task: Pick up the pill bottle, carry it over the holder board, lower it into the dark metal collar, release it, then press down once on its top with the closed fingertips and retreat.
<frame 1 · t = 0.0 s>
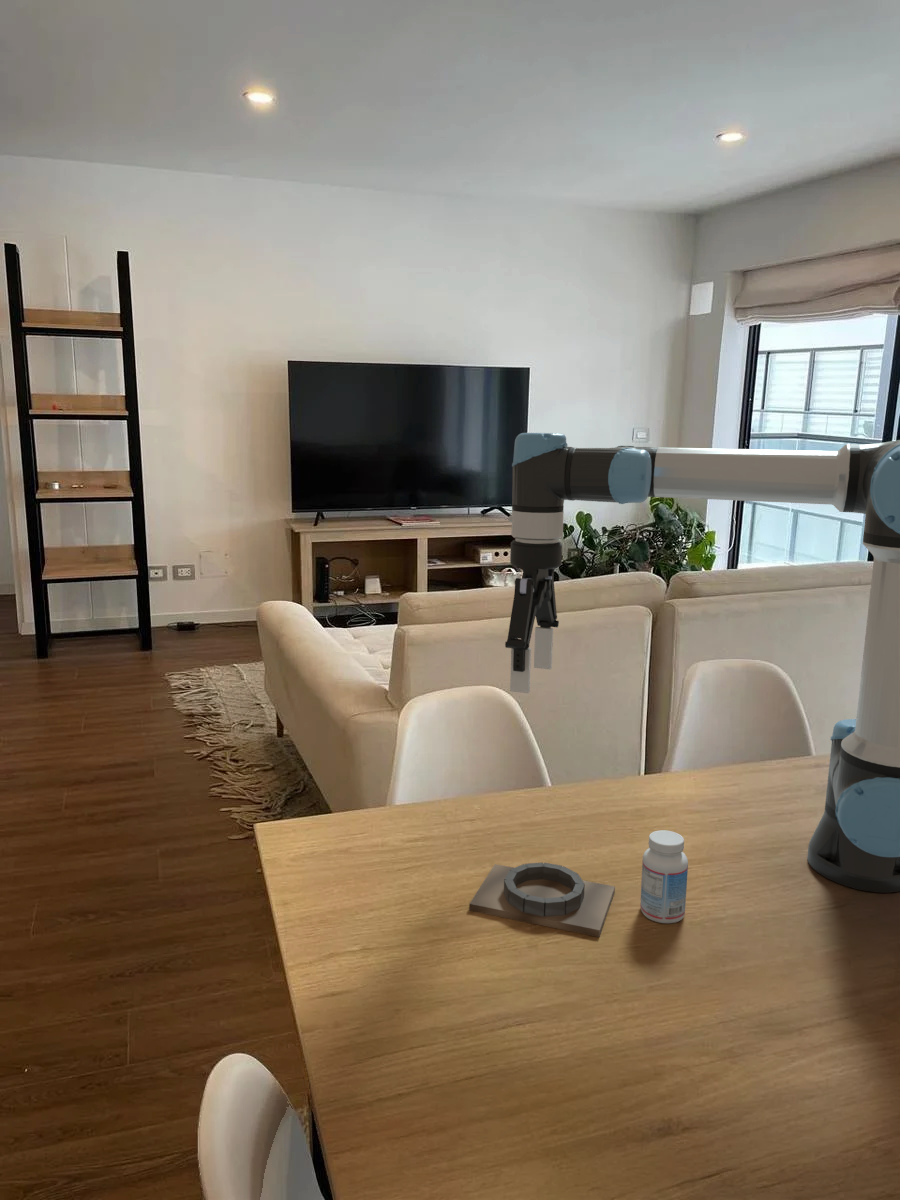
hand: (531, 679, 133), 28 cm above the table, fingers open, 13 cm apart
pill bottle: (661, 914, 122), on the table
holder: (543, 901, 124), on the table
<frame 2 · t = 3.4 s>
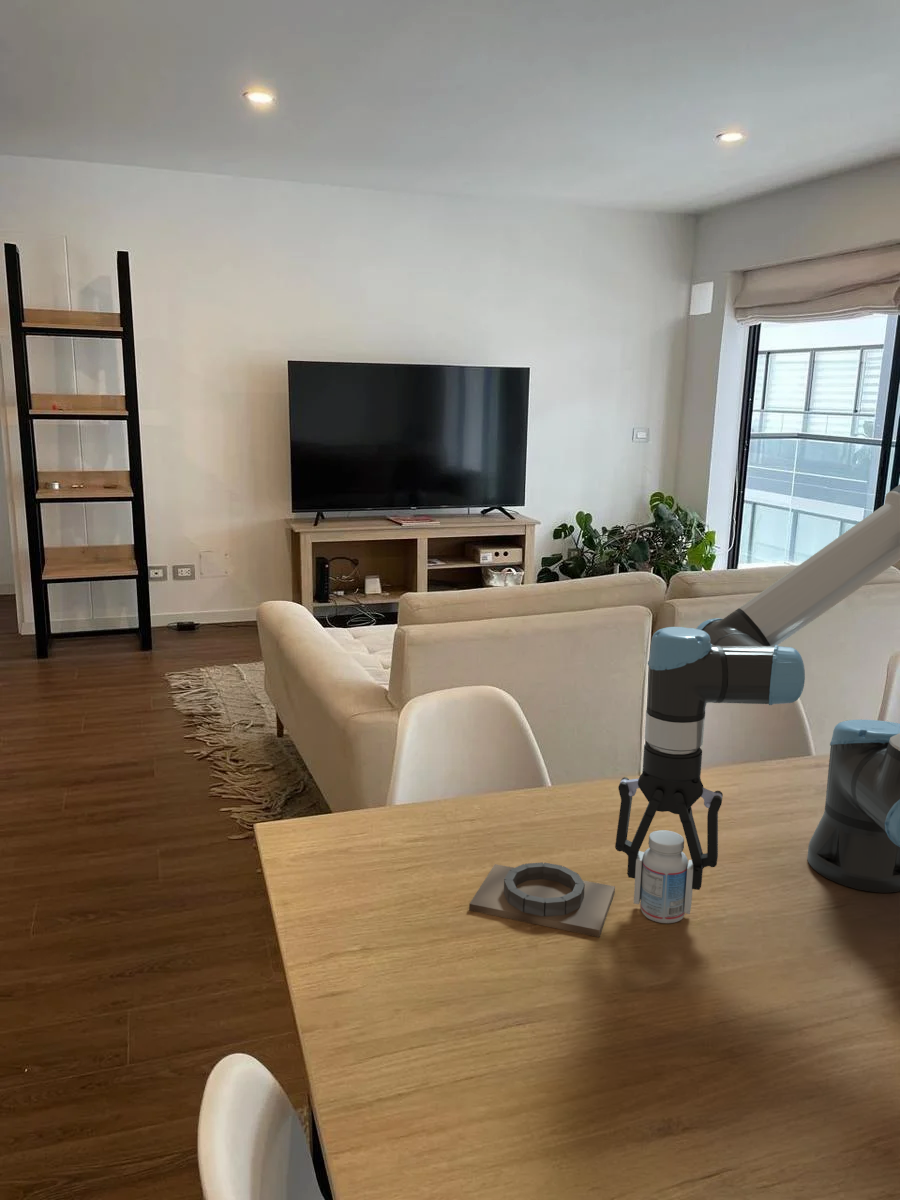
hand: (662, 903, 121), 1 cm above the table, fingers closed on pill bottle, 6 cm apart
pill bottle: (661, 914, 122), on the table, touching gripper
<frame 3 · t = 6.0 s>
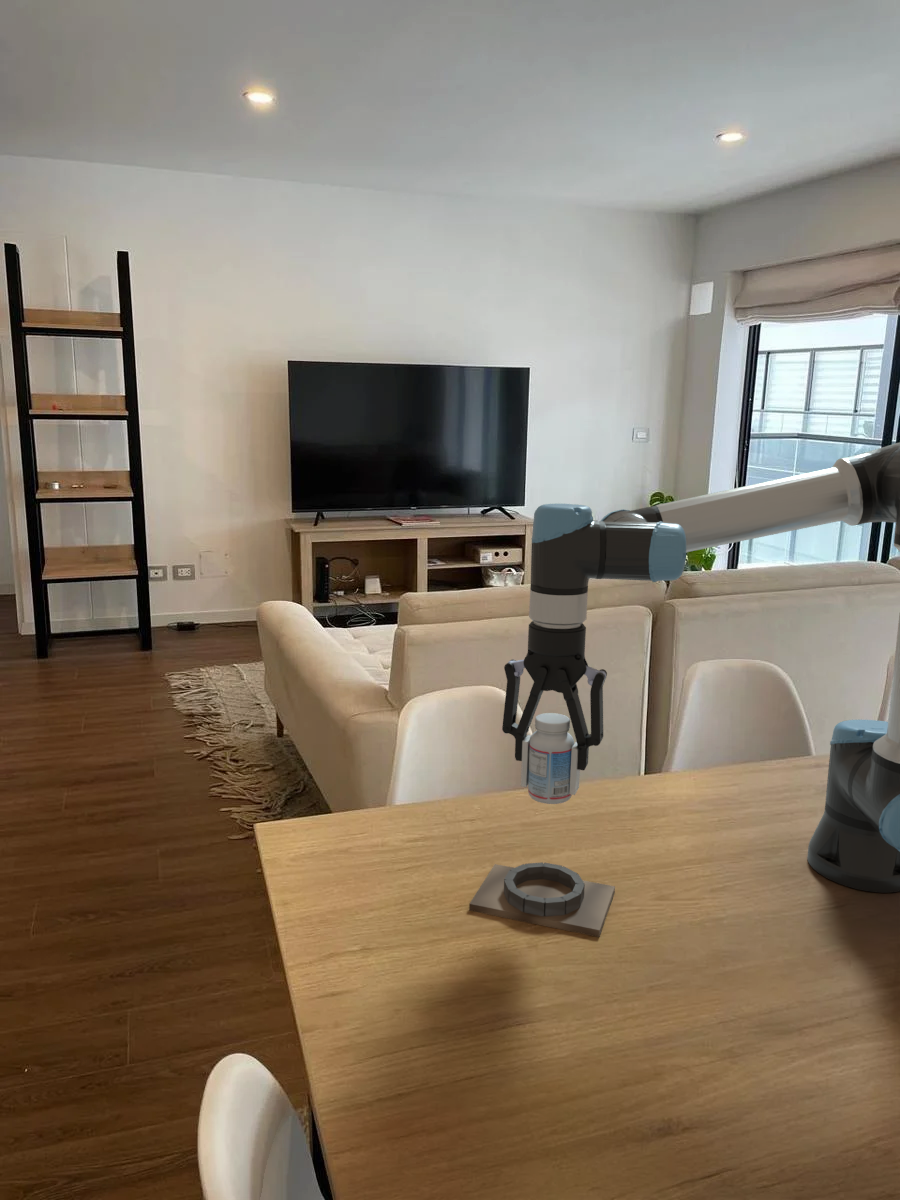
hand: (549, 786, 121), 17 cm above the table, fingers closed on pill bottle, 6 cm apart
pill bottle: (549, 797, 121), point 16 cm above the table, touching gripper
when the fingers open (4 cm above the table, at t = 8.3 s): pill bottle drops 2 cm, resting on holder.
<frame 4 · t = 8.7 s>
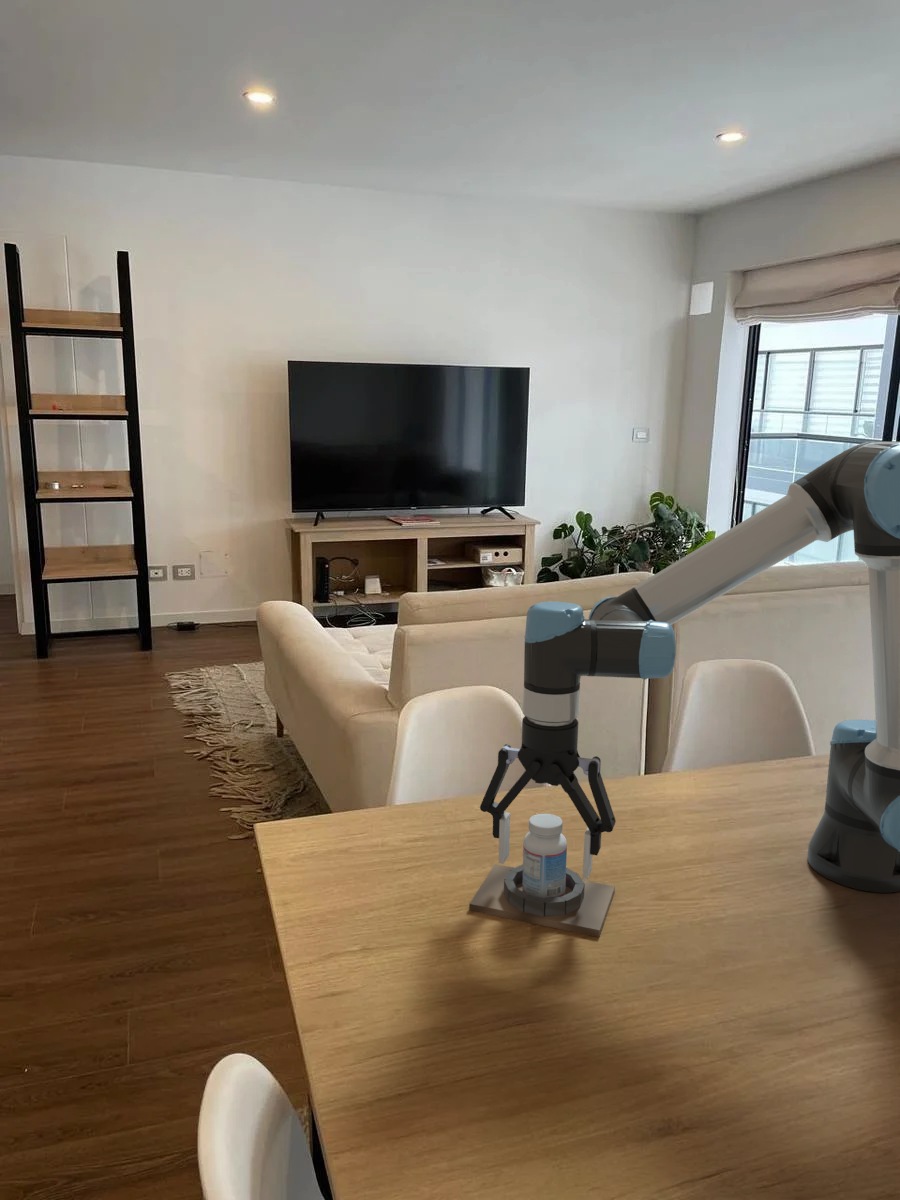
hand: (544, 866, 123), 5 cm above the table, fingers open, 11 cm apart
pill bottle: (543, 896, 124), point 1 cm above the table, touching holder
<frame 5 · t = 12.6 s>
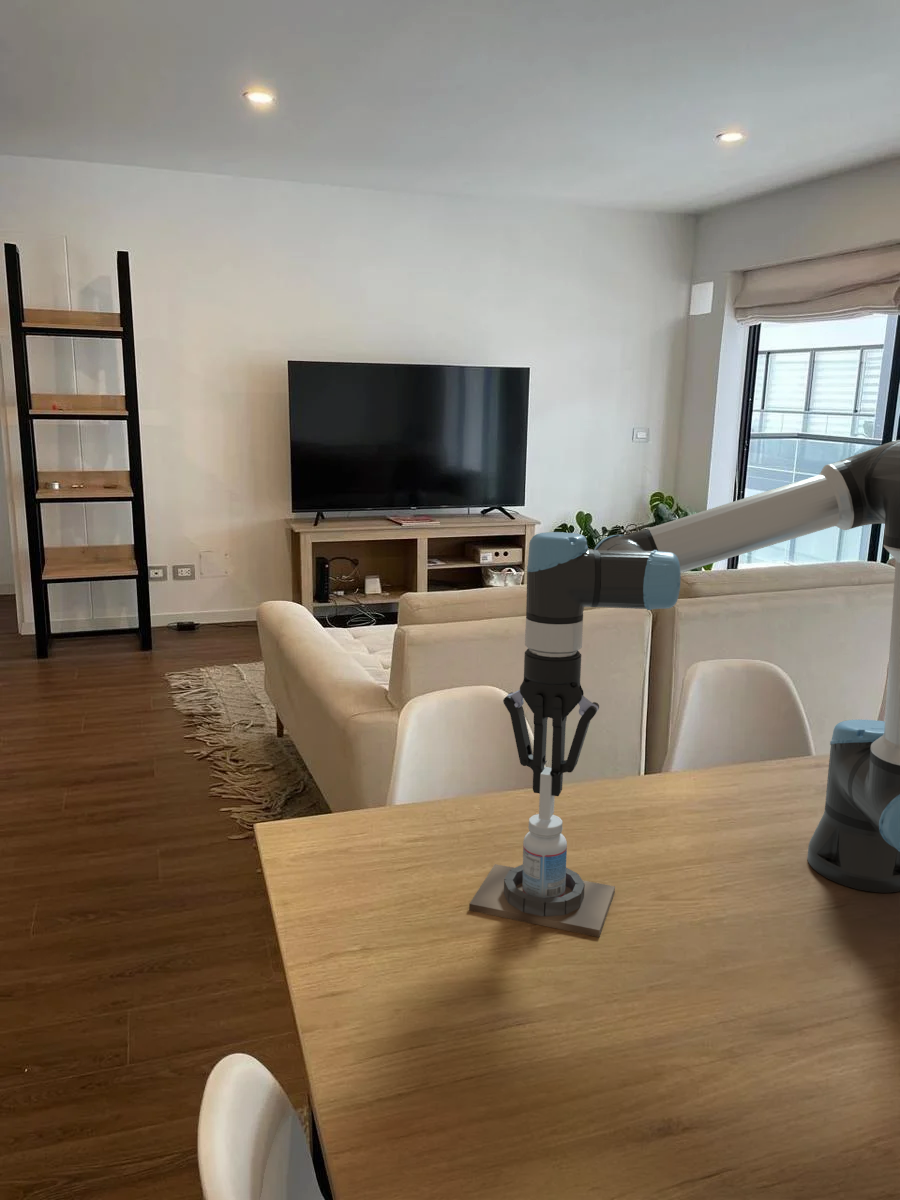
hand: (546, 815, 122), 13 cm above the table, fingers closed
nothing on the table moved.
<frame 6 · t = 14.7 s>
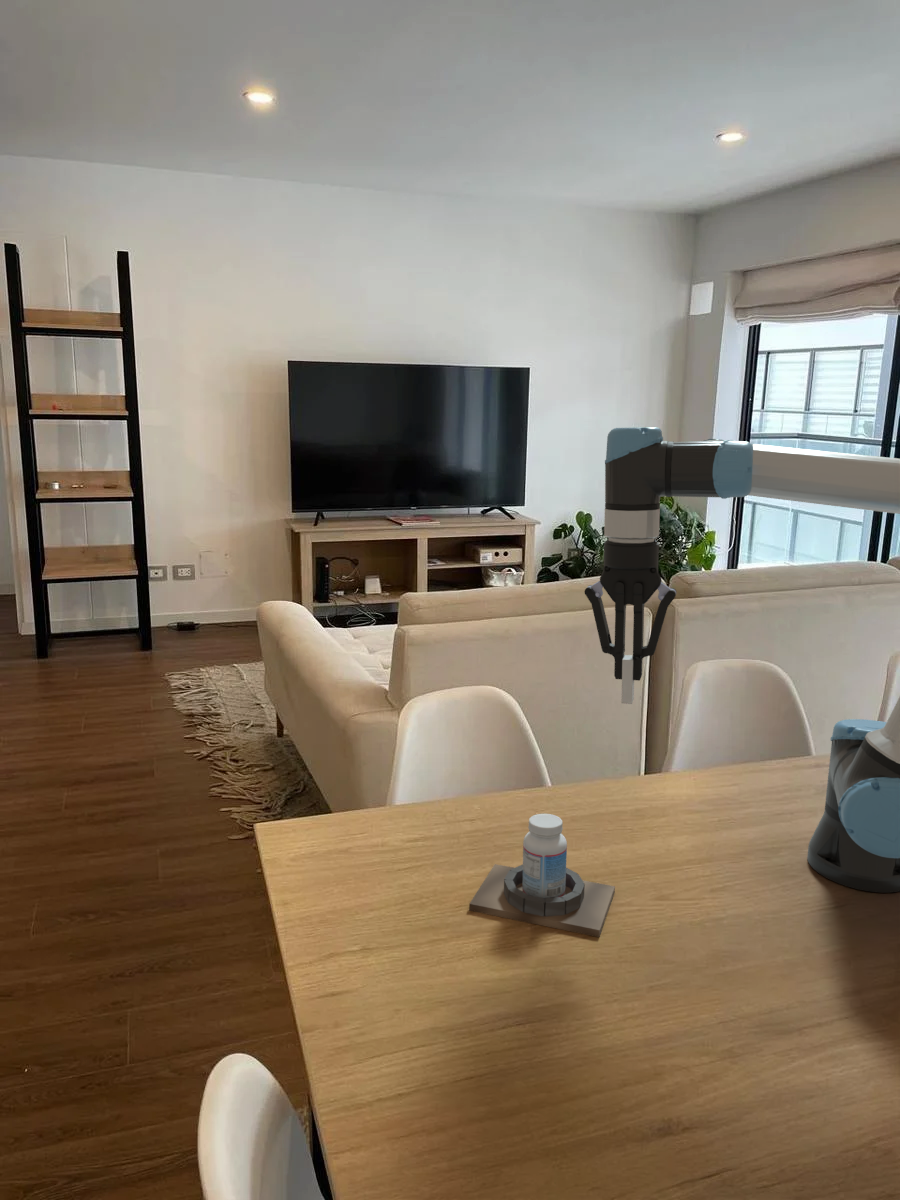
hand: (627, 700, 128), 27 cm above the table, fingers closed
nothing on the table moved.
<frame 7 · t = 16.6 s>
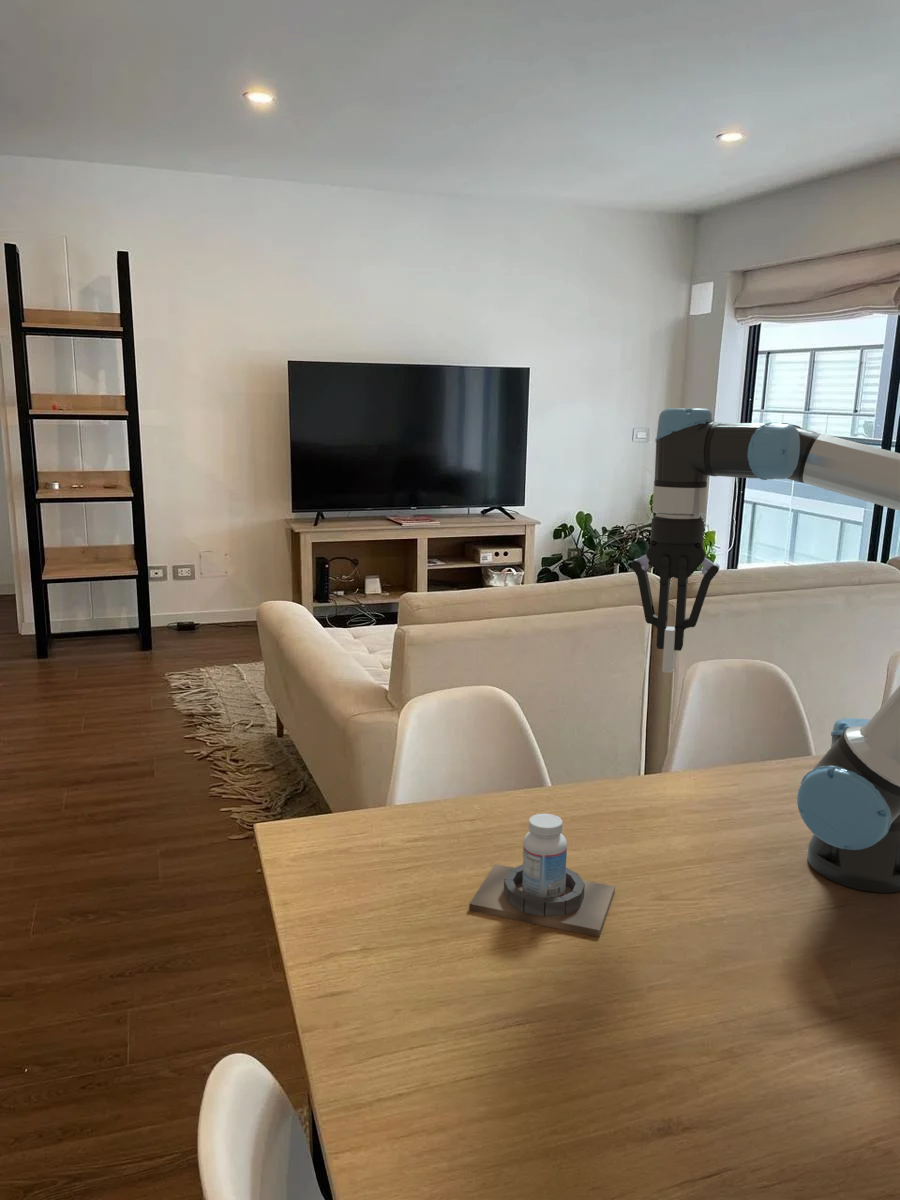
hand: (668, 670, 134), 29 cm above the table, fingers closed
nothing on the table moved.
at the end: pill bottle 0.1 cm off-centre on the holder, point 0.8 cm above the holder's base; pill bottle tilted 0°; the gripper is holding nothing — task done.
